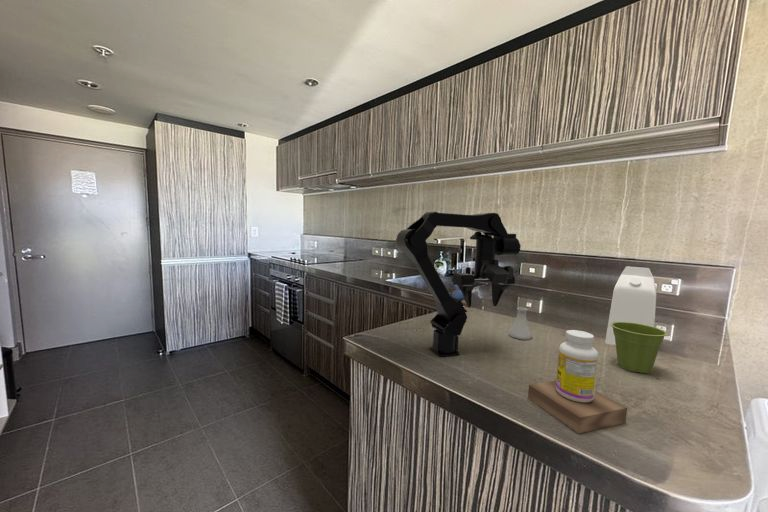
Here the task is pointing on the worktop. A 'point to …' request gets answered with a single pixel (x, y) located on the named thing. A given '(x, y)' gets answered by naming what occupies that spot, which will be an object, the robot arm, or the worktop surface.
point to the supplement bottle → (577, 367)
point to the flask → (521, 326)
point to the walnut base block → (578, 408)
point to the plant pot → (637, 345)
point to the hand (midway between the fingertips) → (482, 306)
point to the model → (459, 295)
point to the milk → (633, 300)
